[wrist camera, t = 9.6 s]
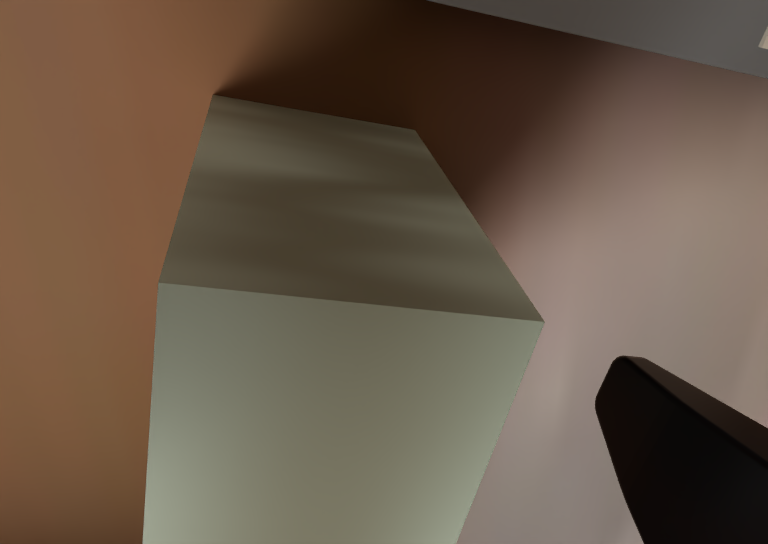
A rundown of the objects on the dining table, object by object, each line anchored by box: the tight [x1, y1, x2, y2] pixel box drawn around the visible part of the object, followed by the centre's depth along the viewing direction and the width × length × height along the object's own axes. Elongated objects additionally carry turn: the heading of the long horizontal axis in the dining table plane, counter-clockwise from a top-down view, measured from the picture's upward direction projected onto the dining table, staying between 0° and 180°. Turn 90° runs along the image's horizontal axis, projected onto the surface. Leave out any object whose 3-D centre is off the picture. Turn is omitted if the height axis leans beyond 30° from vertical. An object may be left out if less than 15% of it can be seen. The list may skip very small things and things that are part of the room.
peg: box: [143, 95, 545, 544], centre depth 10 cm, size 4×4×7 cm
